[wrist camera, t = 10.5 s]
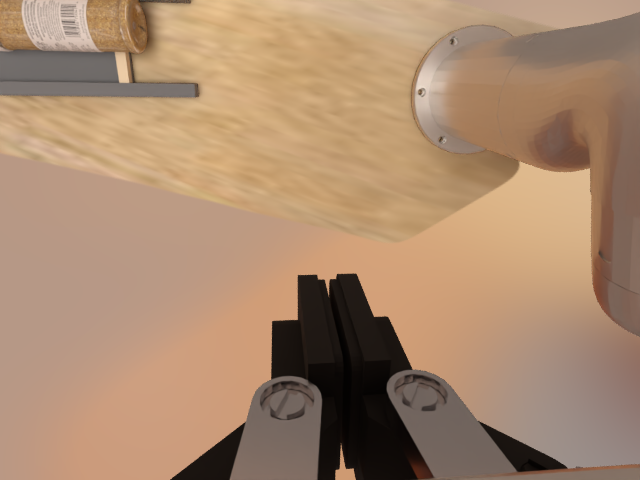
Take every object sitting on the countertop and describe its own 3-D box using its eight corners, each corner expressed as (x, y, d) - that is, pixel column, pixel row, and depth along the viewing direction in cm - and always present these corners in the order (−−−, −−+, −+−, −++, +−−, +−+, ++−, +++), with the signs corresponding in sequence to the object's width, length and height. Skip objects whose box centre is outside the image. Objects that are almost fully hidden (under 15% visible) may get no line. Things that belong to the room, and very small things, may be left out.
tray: (189, -12, 39) (183, -18, 36) (198, 96, 42) (193, 98, 40) (-71, -21, 37) (-97, -29, 34) (-39, 93, 40) (-60, 95, 37)
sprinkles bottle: (141, -9, 36) (-16, -14, 36) (121, -1, 33) (-54, -6, 33) (153, 47, 39) (7, 43, 39) (136, 61, 36) (-25, 57, 35)
